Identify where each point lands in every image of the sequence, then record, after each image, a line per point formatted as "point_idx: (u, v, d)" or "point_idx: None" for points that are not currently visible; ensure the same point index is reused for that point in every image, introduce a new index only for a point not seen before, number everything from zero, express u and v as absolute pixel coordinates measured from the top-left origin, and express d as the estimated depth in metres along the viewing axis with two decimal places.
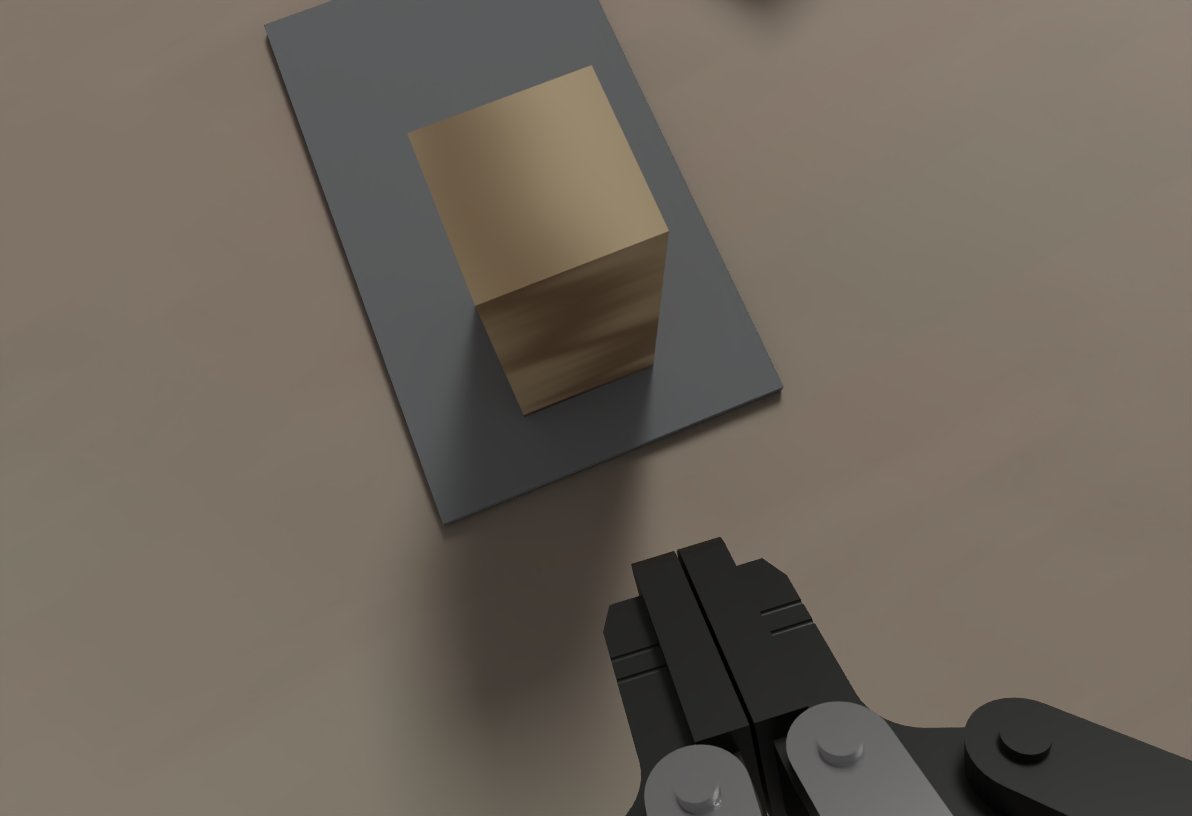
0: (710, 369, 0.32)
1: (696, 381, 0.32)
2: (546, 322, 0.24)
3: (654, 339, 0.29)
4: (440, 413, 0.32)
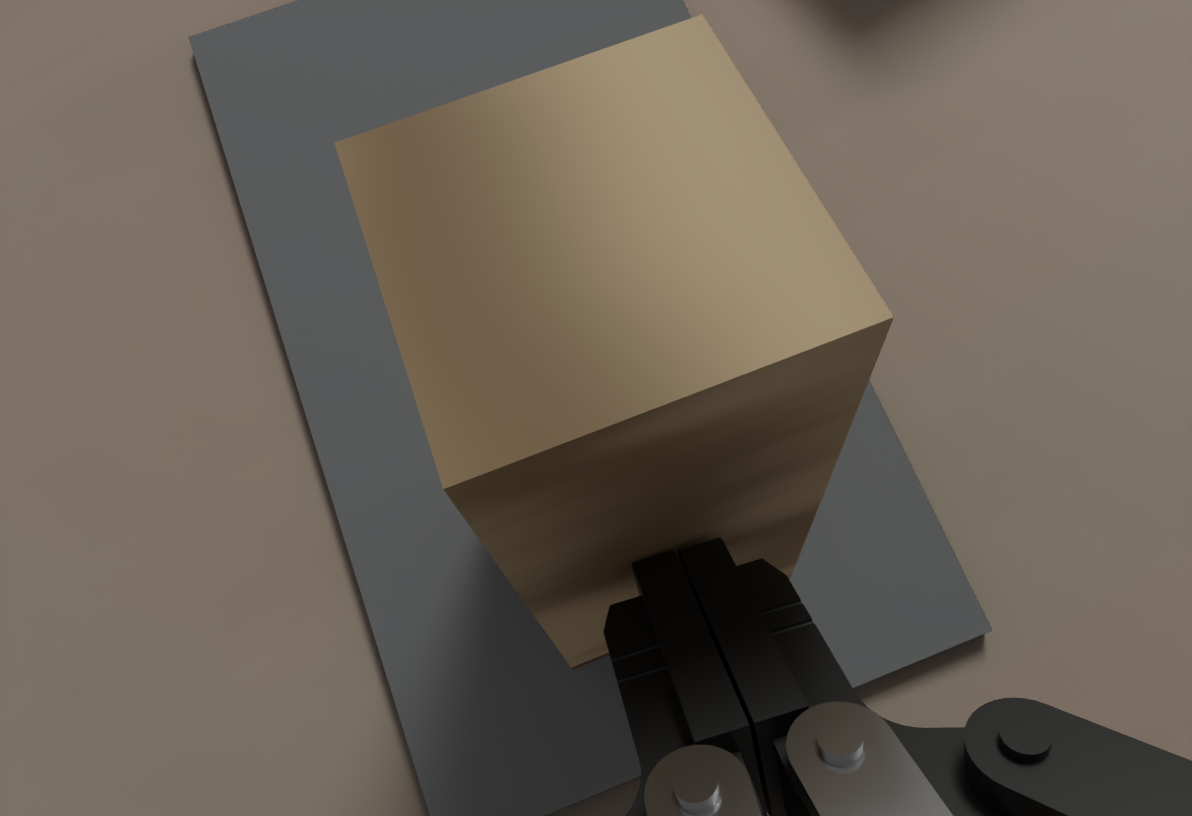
0: (873, 598, 0.20)
1: (852, 618, 0.20)
2: (609, 520, 0.12)
3: (801, 543, 0.16)
4: (441, 663, 0.20)
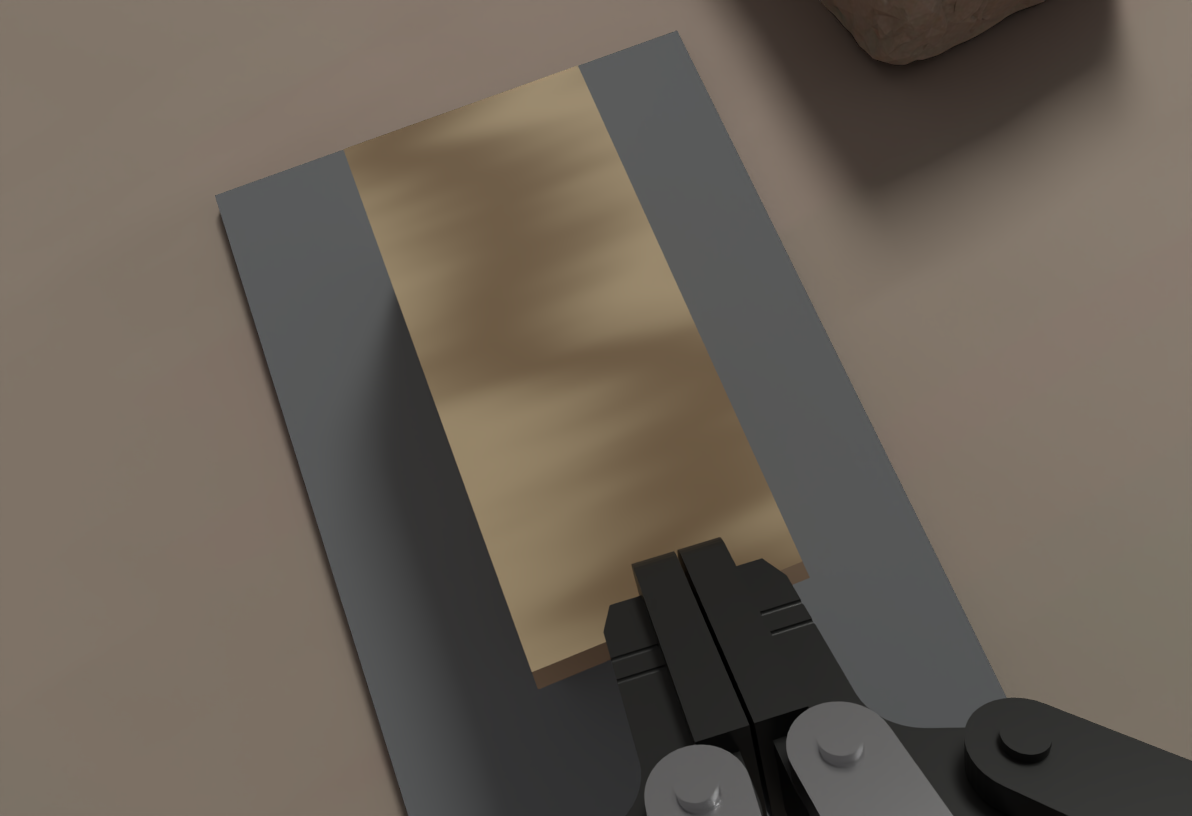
0: None
1: None
2: (463, 241, 0.17)
3: (734, 421, 0.16)
4: None
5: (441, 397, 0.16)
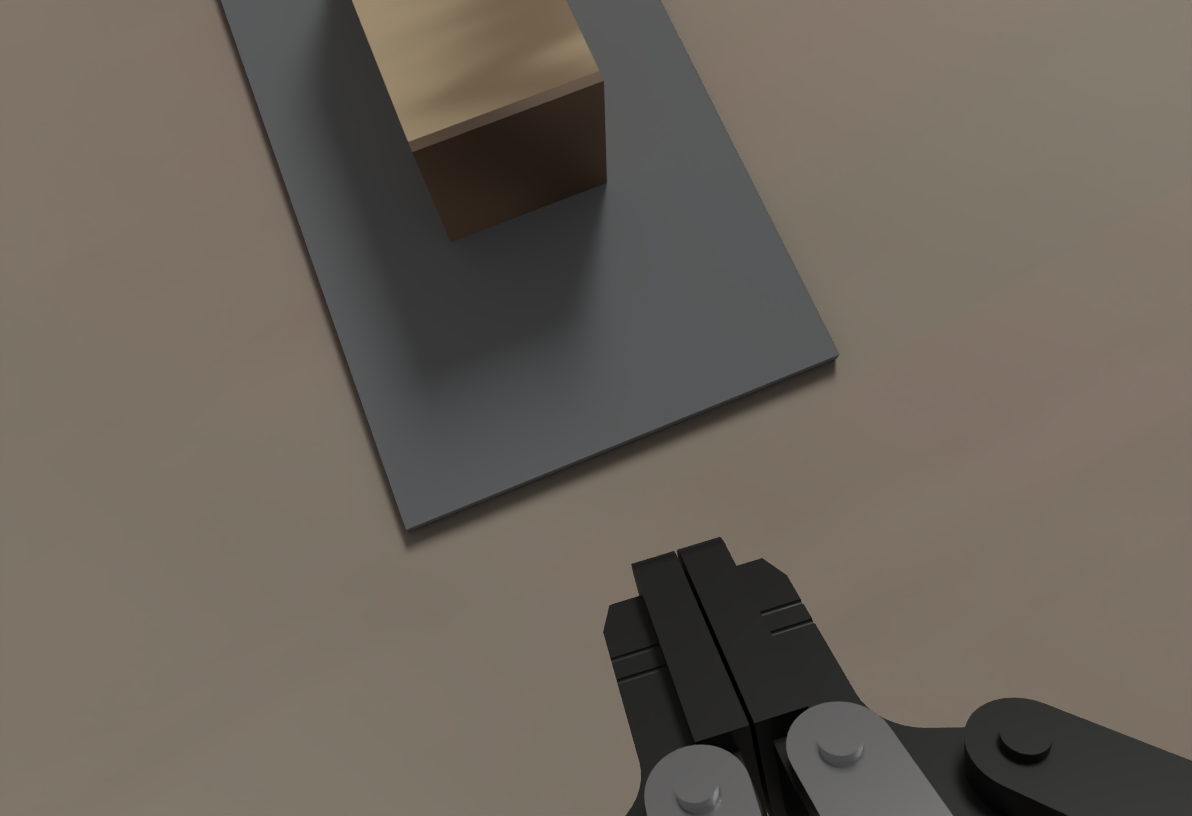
0: (746, 333, 0.25)
1: (728, 348, 0.25)
2: None
3: None
4: (403, 389, 0.25)
5: None
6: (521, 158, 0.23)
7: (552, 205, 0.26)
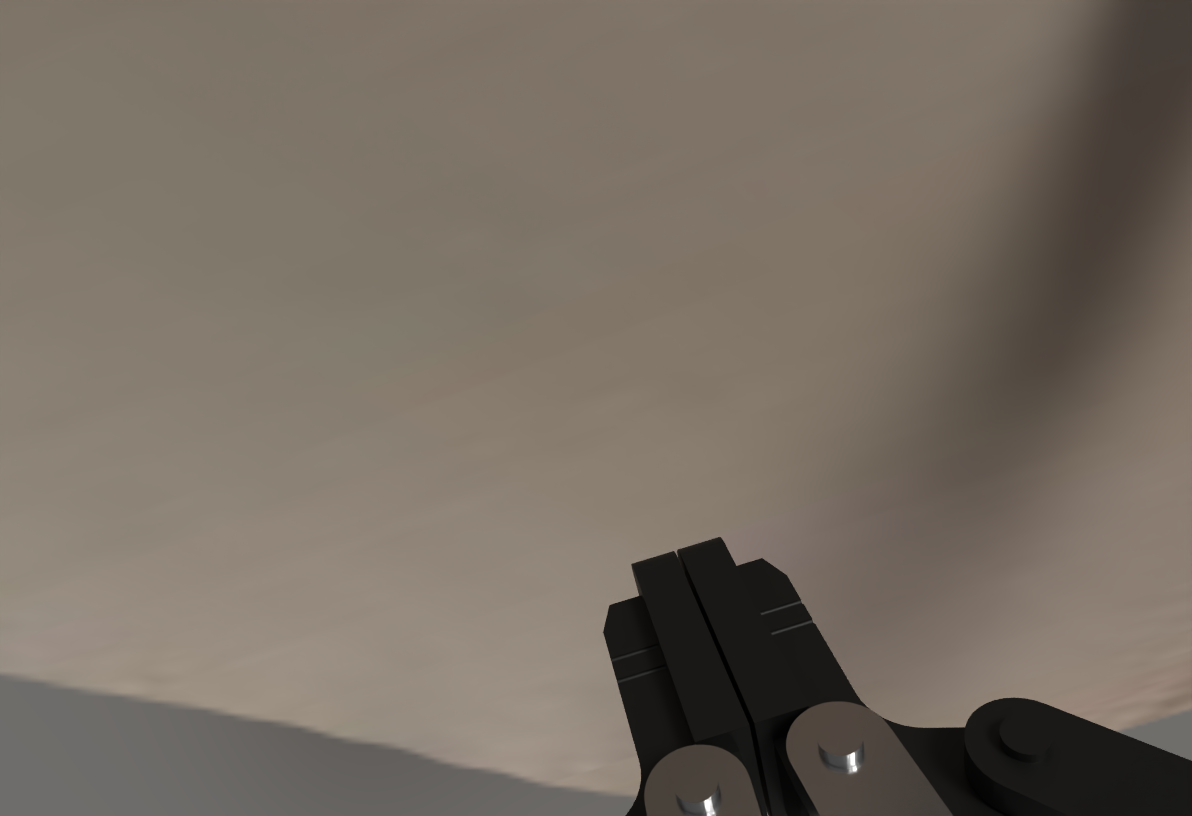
0: None
1: None
2: None
3: None
4: None
5: None
6: None
7: None
